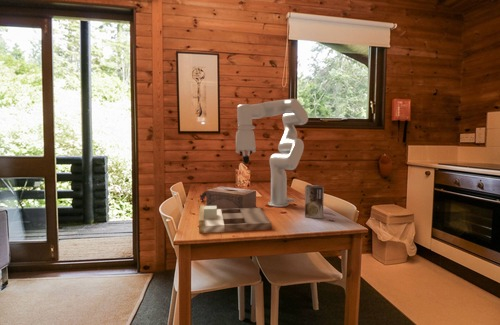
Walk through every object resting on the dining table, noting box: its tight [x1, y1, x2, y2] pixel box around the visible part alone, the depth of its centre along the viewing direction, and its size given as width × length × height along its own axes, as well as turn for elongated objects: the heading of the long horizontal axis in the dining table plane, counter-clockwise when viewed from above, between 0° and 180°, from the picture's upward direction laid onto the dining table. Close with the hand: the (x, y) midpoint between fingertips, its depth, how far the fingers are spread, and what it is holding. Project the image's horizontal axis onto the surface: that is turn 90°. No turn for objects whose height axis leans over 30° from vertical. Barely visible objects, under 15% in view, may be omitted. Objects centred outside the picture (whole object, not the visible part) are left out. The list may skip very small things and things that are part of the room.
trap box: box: [198, 204, 272, 234], centre depth 136 cm, size 32×27×6 cm
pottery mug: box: [199, 190, 206, 201], centre depth 180 cm, size 12×10×8 cm
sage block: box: [204, 205, 218, 218], centre depth 135 cm, size 6×6×4 cm
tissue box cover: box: [205, 185, 257, 209], centre depth 166 cm, size 26×14×10 cm, turn 60°
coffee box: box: [304, 184, 325, 219], centre depth 145 cm, size 9×6×16 cm
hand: (246, 163), depth 147 cm, fingers closed
